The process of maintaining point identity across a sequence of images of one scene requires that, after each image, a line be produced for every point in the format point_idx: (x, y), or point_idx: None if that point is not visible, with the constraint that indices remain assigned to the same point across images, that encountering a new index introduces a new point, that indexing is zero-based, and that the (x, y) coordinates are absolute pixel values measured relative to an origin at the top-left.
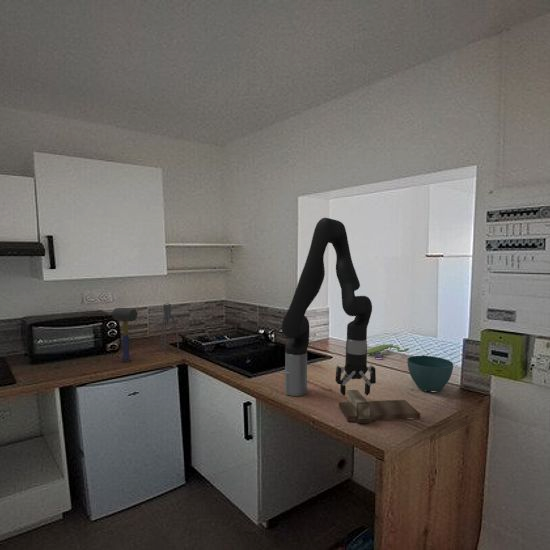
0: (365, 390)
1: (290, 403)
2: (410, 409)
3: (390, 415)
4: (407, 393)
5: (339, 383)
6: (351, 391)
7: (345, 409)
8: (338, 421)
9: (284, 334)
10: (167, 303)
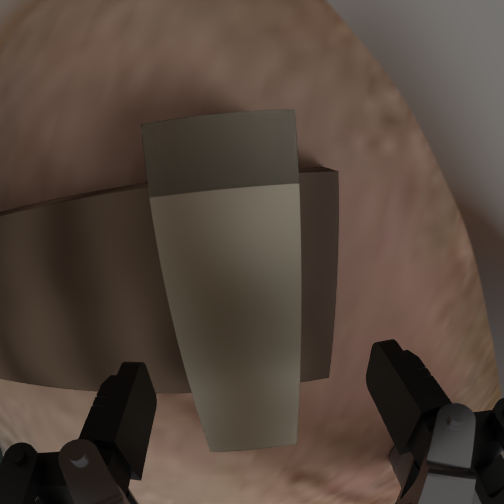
0: (145, 412)
1: (483, 359)
2: None
3: (30, 208)
4: (14, 431)
5: (498, 406)
6: (270, 429)
7: (323, 287)
8: (379, 182)
9: None
10: None
